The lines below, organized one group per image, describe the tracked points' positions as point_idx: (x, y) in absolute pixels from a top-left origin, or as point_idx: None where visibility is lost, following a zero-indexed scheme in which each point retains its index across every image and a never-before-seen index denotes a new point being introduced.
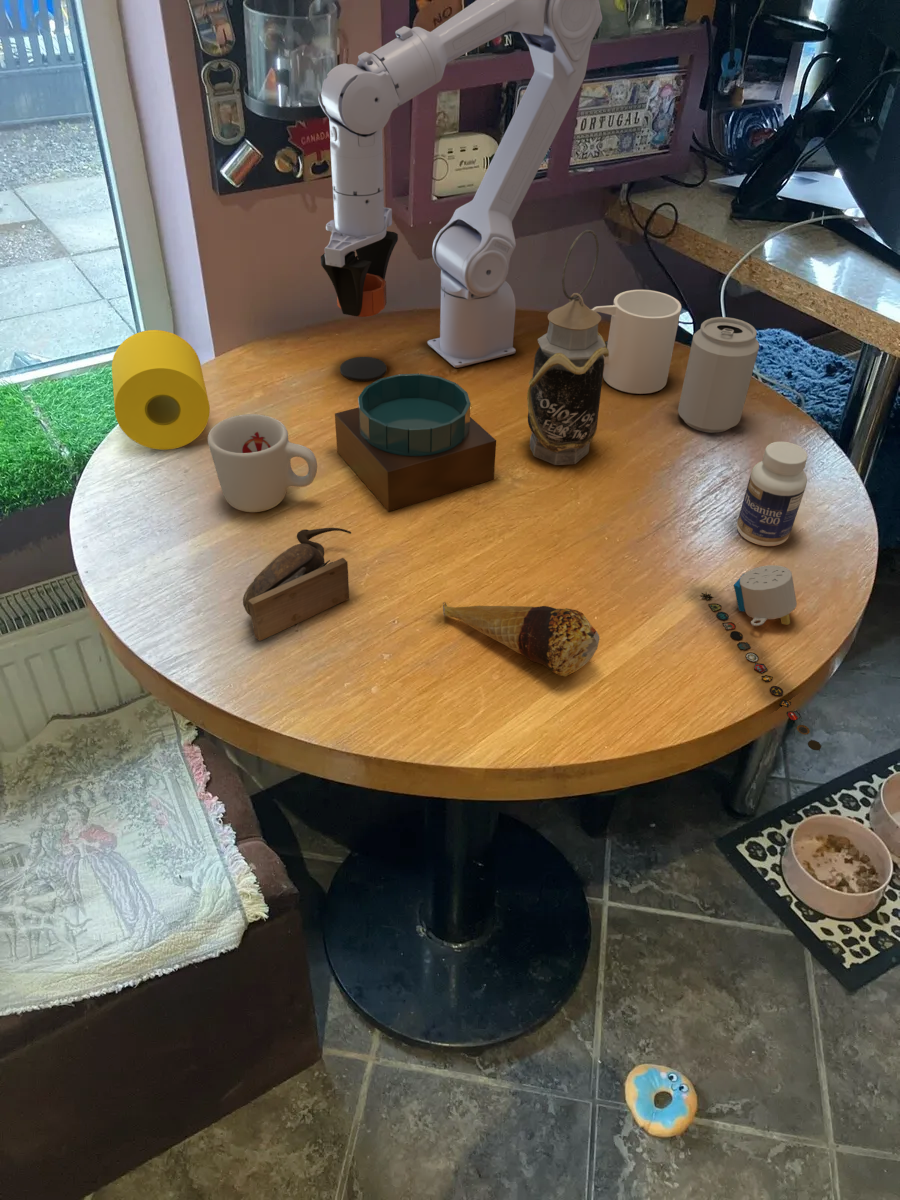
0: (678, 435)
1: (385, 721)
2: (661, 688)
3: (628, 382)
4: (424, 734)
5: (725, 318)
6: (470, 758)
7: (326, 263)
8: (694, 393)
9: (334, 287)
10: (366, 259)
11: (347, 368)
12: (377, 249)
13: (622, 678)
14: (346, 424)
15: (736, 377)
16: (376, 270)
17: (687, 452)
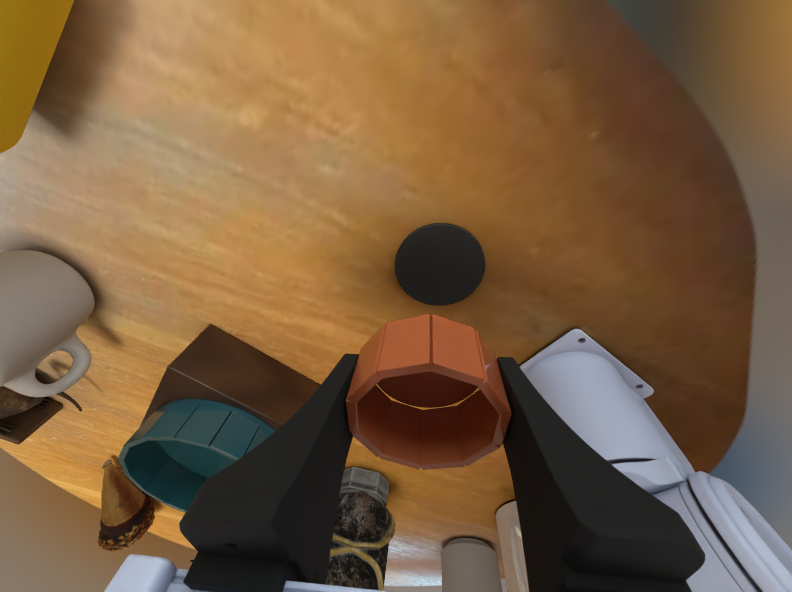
0: (433, 535)
1: (21, 449)
2: (172, 528)
3: (498, 526)
4: (38, 464)
5: None
6: (52, 480)
7: (125, 563)
8: (447, 584)
9: (298, 410)
10: (528, 462)
11: (423, 243)
12: (534, 542)
13: (163, 518)
14: (160, 387)
15: None
16: (512, 452)
17: (409, 538)
